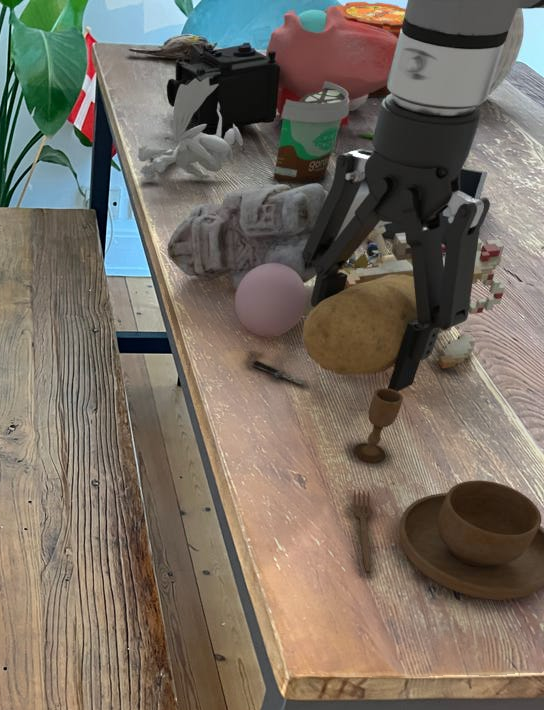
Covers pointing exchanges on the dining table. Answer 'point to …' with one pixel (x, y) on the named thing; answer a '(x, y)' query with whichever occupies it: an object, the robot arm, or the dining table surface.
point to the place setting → (462, 527)
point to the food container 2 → (375, 22)
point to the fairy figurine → (191, 137)
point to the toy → (330, 55)
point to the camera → (231, 85)
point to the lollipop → (272, 299)
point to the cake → (368, 242)
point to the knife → (272, 370)
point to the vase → (509, 50)
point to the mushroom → (357, 102)
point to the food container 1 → (310, 134)
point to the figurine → (248, 232)
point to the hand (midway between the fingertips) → (357, 363)
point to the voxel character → (484, 263)
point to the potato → (361, 326)
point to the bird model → (178, 47)
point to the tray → (469, 185)
